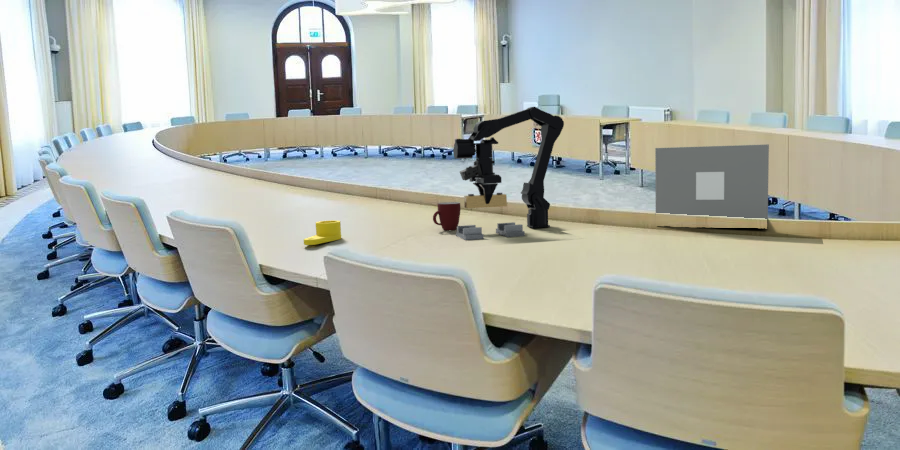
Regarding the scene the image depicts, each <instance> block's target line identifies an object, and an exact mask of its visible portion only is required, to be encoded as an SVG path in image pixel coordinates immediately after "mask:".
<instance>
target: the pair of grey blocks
mask: <svg viewBox="0 0 900 450" xmlns="http://www.w3.org/2000/svg"><path fill="white" fill-rule="evenodd" d="M523 225H524V224H516V222H515V221H513V222H499V223H497V225H496V226H497V228H495V234H498V235H500V236H503V237H505V238H517V237H525V236H526V235H525V230H523V228H524V227H523ZM482 229H483V227H481V226H478V227H476V224H469V225H468V224H467V225H465V224H464V225H458V226H457V229H456V231H455V236H456V237H458V238H460V239H462V240H464V241H472V240H484V234H483V233H482V232H483V230H482Z"/></svg>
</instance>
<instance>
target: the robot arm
mask: <svg viewBox="0 0 900 450" xmlns="http://www.w3.org/2000/svg"><path fill="white" fill-rule="evenodd" d="M529 120H531V121H533V122H534V123H535V124H536V125H538V126H540V128H541V129H540V136H541V137H540V138H541V141H540V145H539V149H538V151H537V155H536V160H535V163H534V167H533V170H532V174H531V177H530V180H529V181H528V182H523V185H522V189H521V192H520V195H521V200H522V202H523V203H524V204H525V205H526V207H527V209H528V213H526V223H527V224H526V226H527V227H530V228H532V229H534V228H535V229H536V228H537V229H538V228H550V227H551V225H550V224H549V210H550V207H551V203H550V202H549V201H547V199H545V198H544V197H545V185H544V183H545V182H544V181H545V178H546V174H547V170H548V167H549V165H550V164H549V163H550V160H551V157H552V152H553V148H554V145H555V143H556V141H557V139H558V138H559V137H560V135H561V133H562V131H563V129H564V125H565V122H564V120H563V118H562V117H561V116H559V115H553V114H551V113H550V112H549V113H548V112H546V111H544V110H542V109H539V108H538V107H537V106H530V107H527V108H526V109H523V110H520V111H517V112H515V113H511V114H508V115H505V116H503V117H500V118H494V119H489V120H482V121H477V122H476V123H474V126H473V131H472V132H471V134H470V136H469V137H468V139H467V138H455V139H454V143H453V150H452V151H453V158H454V159H455V160H461V159H462V160H463V159H468V160H469V159H472V158H473V157H474V156H475V161H474V162H473V165H472V166H471V165H470V166H468V167H466V168H464V169H463V170H460V171H459V173H460V176H461V179H462V181H468V180H469V182H471V183H472V182H473V183H472V184H473V185H474V186H475V187H476V188H477V190H478V193H479V195H484V197H485V202H486V204H489V203H490V200H491V198H492V195H493V194H494V193H495V190H496V189H497V186H498V185H499V184H502V176H501V175H500V174H497V173H495V172H494V165H495V160H494V159H493V154H494V153H493V145H498V144H499V141H498V140H496V139H495V138H494V137H492V136H494V135H496V134H497V133H498V132H500V131H502V130H504V129H507V128H509V127H512V126H515V125H518V124H521V123H525V122H527V121H529ZM485 138H490V139H485ZM475 142H476V143H475Z"/></svg>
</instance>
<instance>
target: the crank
mask: <svg viewBox="0 0 900 450" xmlns="http://www.w3.org/2000/svg"><path fill="white" fill-rule="evenodd" d="M315 232H316V234H315V235H312V236H309V237H306V238H303V245H304V246H313V245H314V246H315V245H319V244H325V243H328V242H333V241H338V240H341V239H342V228H341V221H340V220H333V219H332V220H321V221H320V220H319V221H316V222H315Z"/></svg>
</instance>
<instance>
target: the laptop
mask: <svg viewBox="0 0 900 450" xmlns="http://www.w3.org/2000/svg"><path fill="white" fill-rule="evenodd" d="M654 149H655V150H654V152H655V154H654V155H655V161H654V162H655V166H654V167H655V175H654V176H655V214H656V213H670V214H687V215H709V216H727V217H744V218H765V219H768V220H769V218H768V217H769V170H770V169H769V166H770V165H769V163H770V162H769V159H770V157H769V156H770V153H769V152H770V144H741V145H712V146H711V145H710V146H709V145H706V146H679V147H678V146H677V147H675V146H673V147H655V148H654Z"/></svg>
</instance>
